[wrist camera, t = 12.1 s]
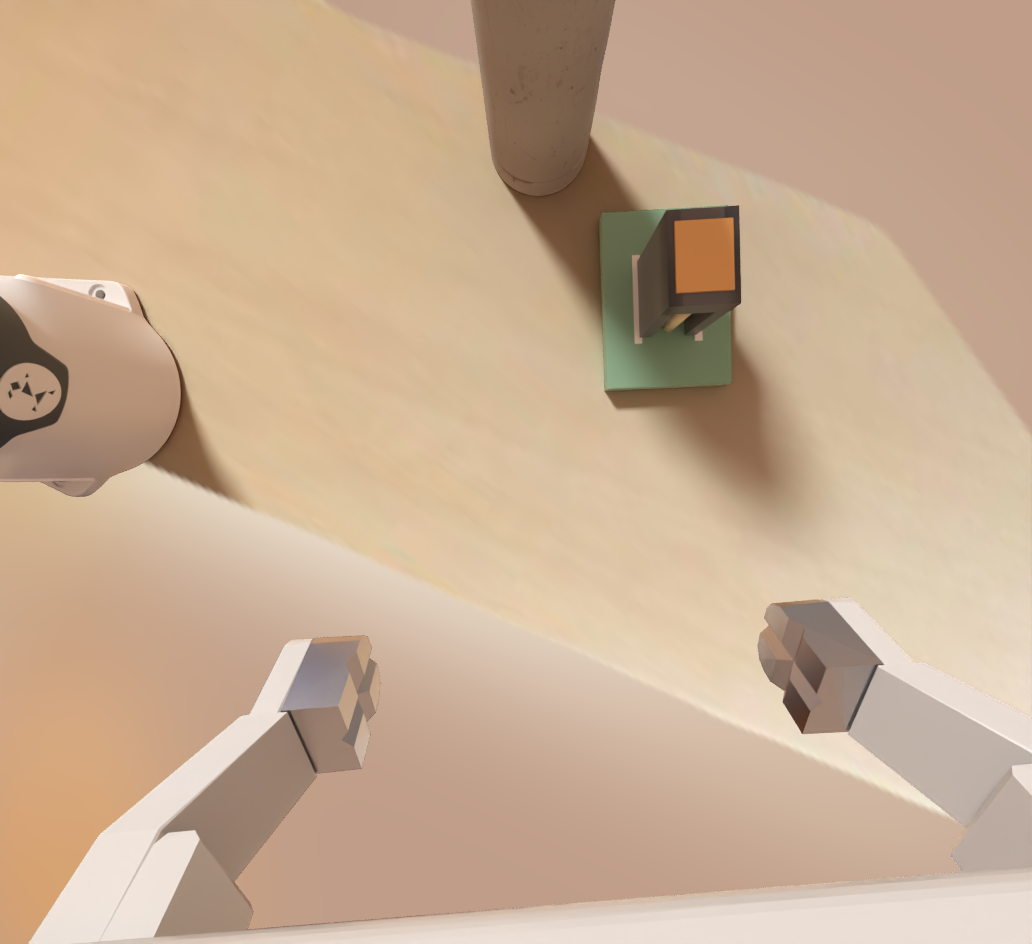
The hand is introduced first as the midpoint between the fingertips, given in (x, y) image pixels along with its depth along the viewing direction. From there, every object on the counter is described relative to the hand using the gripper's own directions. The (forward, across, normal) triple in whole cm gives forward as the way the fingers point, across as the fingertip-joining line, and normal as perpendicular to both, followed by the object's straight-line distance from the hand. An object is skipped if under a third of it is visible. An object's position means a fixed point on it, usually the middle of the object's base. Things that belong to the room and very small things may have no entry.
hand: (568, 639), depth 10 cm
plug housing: (+32, -12, -2) cm, 34 cm away
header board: (+34, -13, -1) cm, 36 cm away
